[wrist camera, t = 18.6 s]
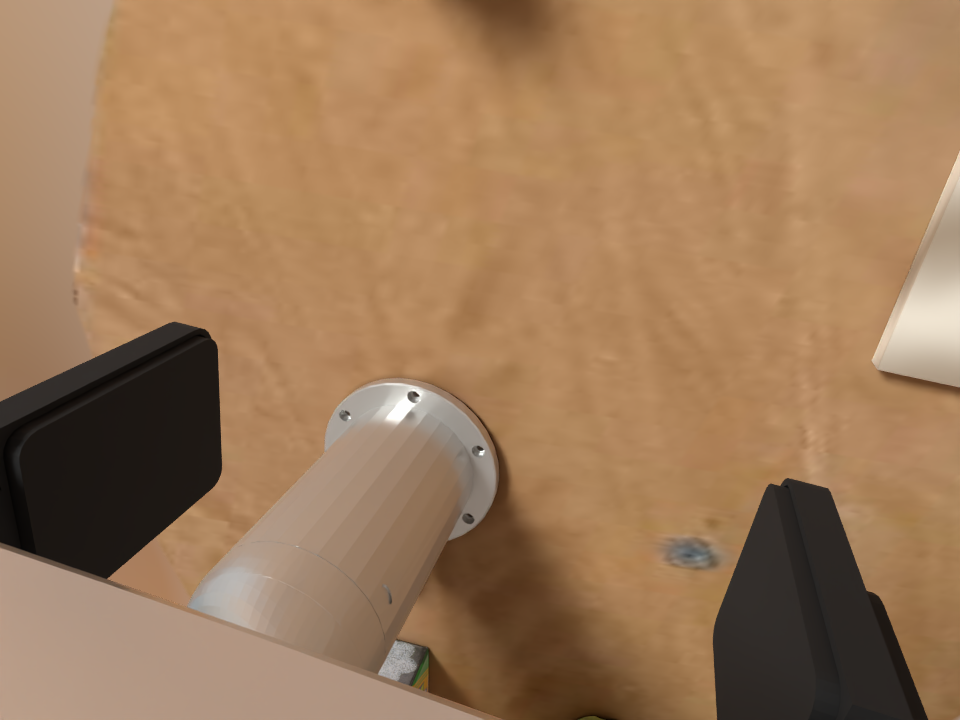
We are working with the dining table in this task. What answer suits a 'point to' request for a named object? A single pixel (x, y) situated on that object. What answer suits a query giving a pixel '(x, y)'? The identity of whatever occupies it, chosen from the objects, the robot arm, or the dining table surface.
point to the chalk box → (407, 665)
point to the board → (929, 301)
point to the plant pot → (591, 718)
